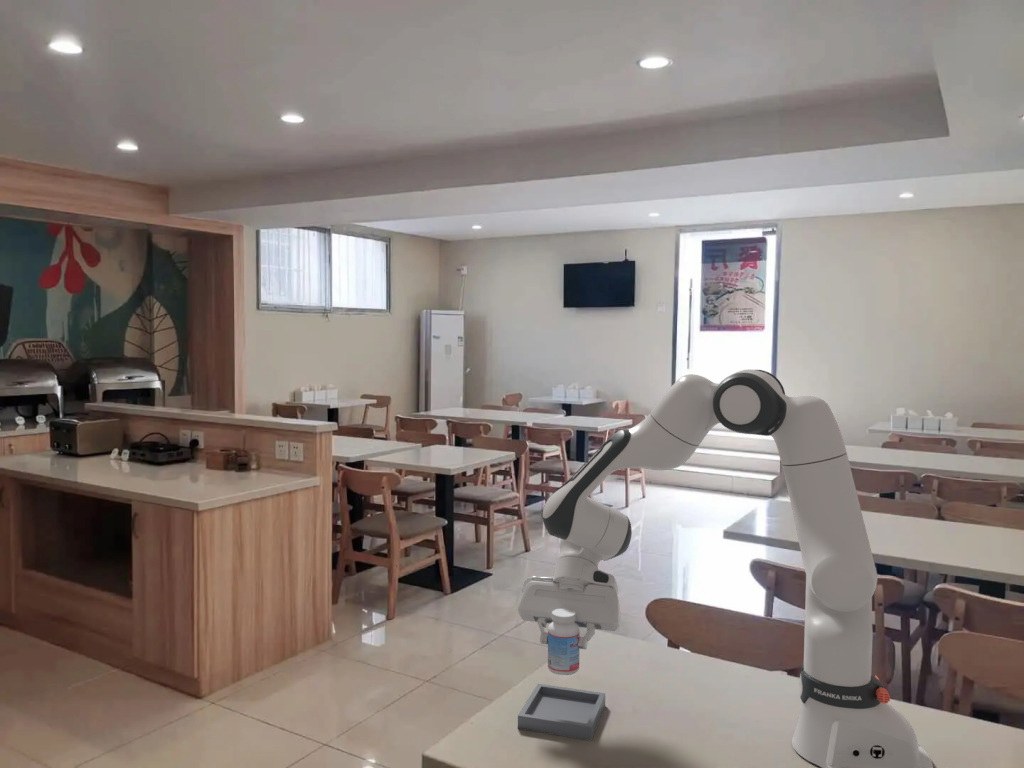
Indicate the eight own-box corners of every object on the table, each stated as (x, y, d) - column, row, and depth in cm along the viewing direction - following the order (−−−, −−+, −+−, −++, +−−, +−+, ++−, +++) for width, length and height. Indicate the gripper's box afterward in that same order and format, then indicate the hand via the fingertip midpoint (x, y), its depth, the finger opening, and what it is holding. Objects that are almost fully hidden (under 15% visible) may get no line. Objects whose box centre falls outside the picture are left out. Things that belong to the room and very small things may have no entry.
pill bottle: (577, 677, 143) (577, 619, 142) (545, 674, 144) (545, 616, 144) (580, 664, 149) (581, 608, 148) (550, 661, 150) (550, 605, 150)
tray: (605, 705, 152) (605, 693, 152) (591, 740, 138) (591, 727, 138) (537, 695, 156) (537, 683, 156) (517, 728, 143) (517, 715, 142)
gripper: (522, 567, 155) (507, 631, 147) (622, 577, 149) (613, 645, 140) (528, 582, 160) (514, 645, 151) (625, 592, 154) (616, 659, 145)
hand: (562, 645), depth 146 cm, fingers closed on pill bottle, 6 cm apart
